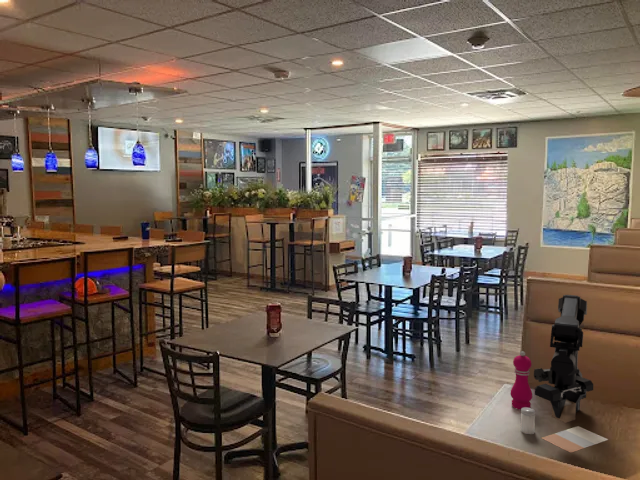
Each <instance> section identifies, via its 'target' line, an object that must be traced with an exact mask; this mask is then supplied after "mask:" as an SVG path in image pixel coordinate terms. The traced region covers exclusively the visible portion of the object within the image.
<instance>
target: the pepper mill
mask: <svg viewBox="0 0 640 480" xmlns="http://www.w3.org/2000/svg"><path fill="white" fill-rule="evenodd" d="M512 360H513V361H512V364H513V366H514V374H515V380H514V383H513V385H512V387H511V389H510V397H511V399H512V400H511V407H513V408H514V409H515V410H520V411H521V408H524V407H527V408H531V407H532V406H531V405H532V403H531V402H530V401H532V399H533V392H532V389H531V387H530V384H529V375H530V374H531V373H530V369H531V368H532V361H531V359H530V357H529V356H527V355H526V352H525V351H523V350H522V351H520V352H519V355H516V356H515V357H514V358H513V359H512Z"/></svg>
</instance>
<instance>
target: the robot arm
mask: <svg viewBox="0 0 640 480" xmlns="http://www.w3.org/2000/svg"><path fill="white" fill-rule="evenodd" d="M557 310H558V312H559V313H560V317H556V318H555V320H554V321H555V322H554V324H552V325H551V333H550V341H549V348H554V354H553V356H552V359H551V361H550V362H551V363H550V365H551V366H550V367H549V368H544V369H543V368H542V367H540V368H535V369H533V370H534V371H533V378H534V379H535V380H536V381H537V380H538V383H542V382H548V383H543V384H540V385H536V386H535V387H534V396H537V397H539V398H542V399H544V400H546V401H549V402H550V404H551V408H552V407H553V410H554V413H555V416H556V417H557V418H560V416H561V414H562V411H563V408H564V405H565V402H566V399H567V400H569V401H572V402H574V403H576V413H578V412H579V411H580V407H581V400H584V399H586V398H587V393H588V392H591V391H594V383H593V382H592V380H591V379H588V378H586V377H583V374H582V372H581V371H580V369H579V367H578V363H579V361H578V360H579V359H578V358H579V352H580V350H581V348H583V345H584V343H583V341H584V331H583V330H582V327H580V326H581V325H582V324H583V322H584V321H585V315H586V316H587V314H588V301H587V300H585V299H583V298H581V296H579V295H573V294H563V296H562V297H560V298H558V305H557ZM552 385H554V386H552Z"/></svg>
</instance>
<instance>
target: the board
mask: <svg viewBox="0 0 640 480" xmlns="http://www.w3.org/2000/svg"><path fill="white" fill-rule="evenodd" d="M541 439H542V440H545V441H546V442H548V443H550V444H553V445H554V446H556V447H558V448H560V449H561V450H564V451H566V452H569V453H570V454H571V453H574V452H578V451H581V450H583V449H586V448H588V447H592V446H594V445H597V444H600V443H603V442H606V441H608V440H609V439H608V438H606V437H604V436H601V435H598V434H597V433H595V432H592V431H590V430H587V429H585V428H583V427H581V426H579V425H578V426H574V427H572V428H568V429H564V430H561V431H558V432H556V433H552V434H549V435H546V436H543V437H541Z"/></svg>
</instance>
